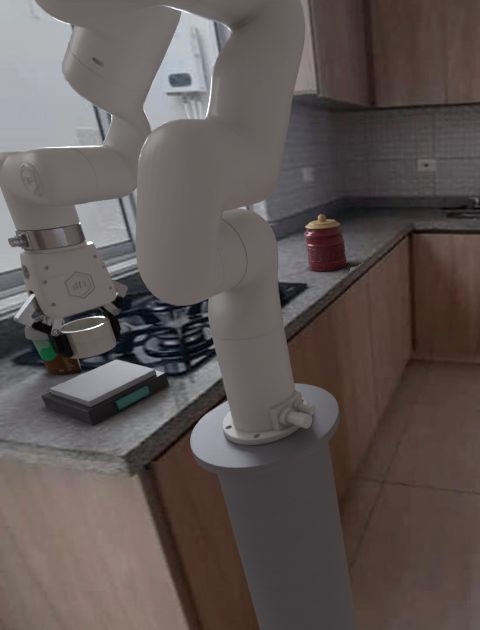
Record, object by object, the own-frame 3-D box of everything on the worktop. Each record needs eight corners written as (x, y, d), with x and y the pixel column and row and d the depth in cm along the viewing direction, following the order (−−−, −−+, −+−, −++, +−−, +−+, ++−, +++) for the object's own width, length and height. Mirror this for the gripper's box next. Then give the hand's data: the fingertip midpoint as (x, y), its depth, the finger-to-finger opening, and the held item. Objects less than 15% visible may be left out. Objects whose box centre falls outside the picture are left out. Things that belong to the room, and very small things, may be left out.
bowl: (125, 344, 74) (117, 319, 72) (82, 361, 68) (72, 335, 67) (101, 338, 77) (93, 314, 75) (57, 354, 71) (48, 329, 69)
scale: (171, 385, 78) (166, 368, 77) (95, 426, 67) (87, 407, 66) (123, 372, 84) (118, 356, 83) (46, 408, 73) (38, 390, 72)
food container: (40, 363, 90) (21, 317, 86) (77, 353, 93) (60, 309, 90) (41, 385, 81) (20, 335, 77) (82, 373, 84) (64, 325, 81)
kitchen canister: (309, 263, 156) (302, 213, 149) (346, 260, 157) (341, 210, 151) (307, 273, 144) (299, 218, 137) (347, 269, 146) (341, 215, 139)
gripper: (-6, 253, 57) (43, 374, 64) (126, 228, 72) (155, 329, 78) (-33, 250, 60) (16, 365, 67) (98, 227, 75) (128, 323, 81)
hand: (91, 345), depth 72 cm, fingers closed on bowl, 6 cm apart
